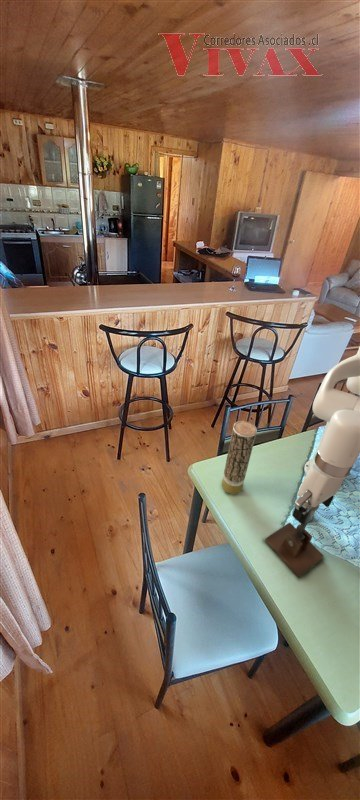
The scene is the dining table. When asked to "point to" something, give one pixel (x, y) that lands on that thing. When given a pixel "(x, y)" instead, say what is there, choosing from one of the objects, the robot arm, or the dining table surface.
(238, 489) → the wooden log
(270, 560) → the dining table surface
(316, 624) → the dining table surface
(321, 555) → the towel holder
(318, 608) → the dining table surface
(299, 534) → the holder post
